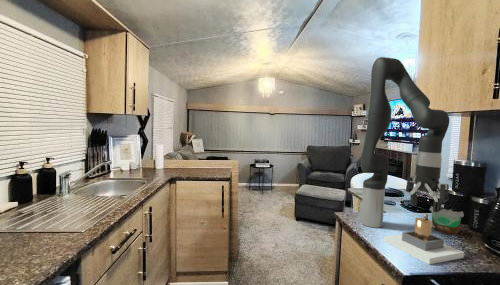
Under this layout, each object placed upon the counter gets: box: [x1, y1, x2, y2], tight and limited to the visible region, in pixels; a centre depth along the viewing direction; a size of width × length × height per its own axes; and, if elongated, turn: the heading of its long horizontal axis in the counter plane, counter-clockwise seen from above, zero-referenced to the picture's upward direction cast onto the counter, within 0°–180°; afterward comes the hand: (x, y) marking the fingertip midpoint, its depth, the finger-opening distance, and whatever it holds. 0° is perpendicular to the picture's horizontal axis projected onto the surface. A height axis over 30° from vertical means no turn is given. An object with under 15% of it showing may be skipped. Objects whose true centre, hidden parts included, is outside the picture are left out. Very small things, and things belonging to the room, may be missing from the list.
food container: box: [429, 205, 465, 235], centre depth 116 cm, size 12×6×10 cm, turn 56°
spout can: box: [414, 213, 432, 242], centre depth 97 cm, size 5×5×11 cm
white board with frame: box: [383, 230, 465, 265], centre depth 97 cm, size 18×17×5 cm
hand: (424, 208), depth 97 cm, fingers open, 8 cm apart
